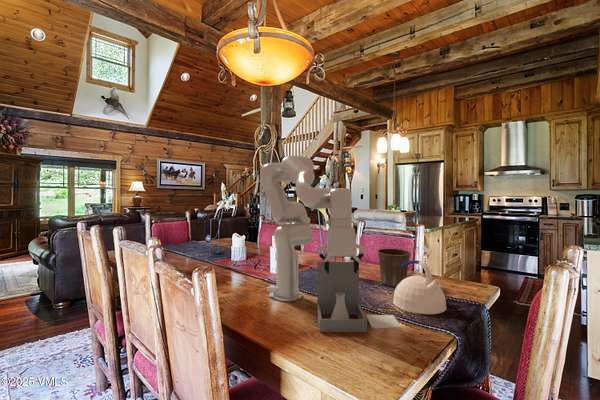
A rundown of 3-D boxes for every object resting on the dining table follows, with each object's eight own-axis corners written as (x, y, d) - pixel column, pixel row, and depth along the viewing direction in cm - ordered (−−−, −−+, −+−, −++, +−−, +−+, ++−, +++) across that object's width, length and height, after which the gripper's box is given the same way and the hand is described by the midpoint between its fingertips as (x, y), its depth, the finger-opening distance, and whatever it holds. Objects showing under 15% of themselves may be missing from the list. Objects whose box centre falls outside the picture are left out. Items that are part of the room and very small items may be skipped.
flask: (337, 328, 105) (337, 298, 104) (326, 320, 111) (326, 292, 111) (354, 324, 108) (355, 295, 108) (342, 316, 114) (342, 289, 114)
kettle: (418, 318, 113) (418, 269, 112) (382, 300, 132) (383, 257, 131) (459, 310, 120) (459, 264, 120) (420, 294, 140) (420, 254, 139)
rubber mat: (371, 328, 104) (371, 326, 104) (365, 316, 114) (365, 315, 114) (401, 328, 104) (401, 327, 104) (393, 316, 114) (393, 315, 114)
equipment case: (319, 331, 102) (319, 272, 101) (317, 312, 118) (317, 261, 118) (367, 332, 102) (367, 272, 101) (358, 312, 118) (358, 261, 117)
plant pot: (415, 288, 147) (415, 254, 146) (381, 288, 147) (381, 254, 147) (404, 279, 163) (404, 248, 163) (373, 278, 163) (373, 248, 163)
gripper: (316, 224, 105) (317, 275, 105) (367, 224, 105) (368, 274, 105) (315, 222, 112) (316, 270, 113) (363, 222, 112) (364, 269, 112)
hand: (341, 272), depth 109 cm, fingers open, 9 cm apart
